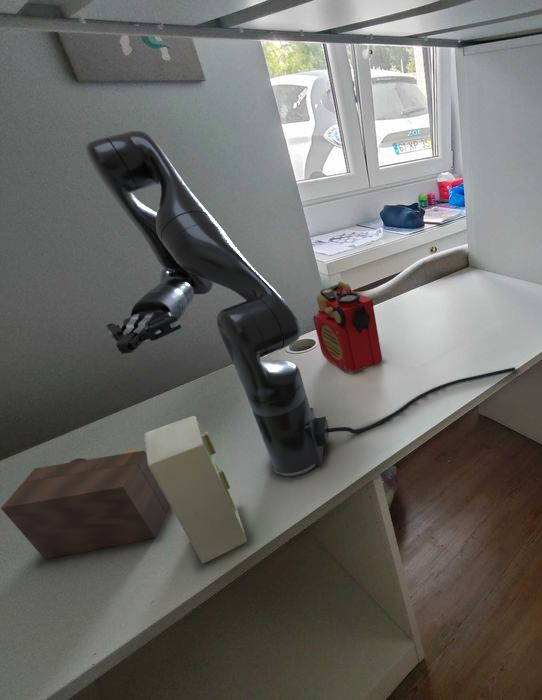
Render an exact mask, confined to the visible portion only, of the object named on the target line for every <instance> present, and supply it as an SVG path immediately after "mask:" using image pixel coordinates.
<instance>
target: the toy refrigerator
mask: <svg viewBox="0 0 542 700" xmlns="http://www.w3.org/2000/svg"><path fill="white" fill-rule="evenodd" d="M143 440H144V447H145V452H146V455H147V463H148V466H149V469H150V470H151V472H152V474H153V476H154V478H155V479H156V481H157V483H158V485H159V486H160V488H161V490H162V492H163V494H164V495H165V497H166V499H167V501H168V502H169V504H170V508H171V510H172V511H173V513H174V515H175V517H176V519H177V520H178V523H179V525H180V526H181V528H182V529H183V532H184V533H185V535H186V537H187V539H188V541H189V542H190V543H191V544H190V545H191V546H192V548H193V550H194V551H195V553H196V555H197V556H198V558H199V560H200V562H201V563H202V564H206V563H208V562H210V561H212V560H214V559H216V558H218V557H220V556H222V555H224V554H226V553H228V552H230V551H232V550H234V549H236V548H238V547H240V546H242V545H243V544H246V543H247V542H248V539H247V535H246V533H245V529H244V526H243V523H242V520H241V518H240V517H241V516H240V514H239V511H238V509H237V506H236V504H235V501H234V499H233V498H232V496H231V493H230V491H229V489H231V486H230V484H229V481H228V479H227V477H226V474H225V471H224V469H223V468H219V465H218V464H217V462H216V460H215V457H214V455H215V454H216V453H217V450H216V448H215V446H214V443H213V442H212V439H211V437H210V435H209V432H208V431H204V432H203V430H202V428H201V425H200V424H199V421H198V419H197V417H196V416H195V415H191V416H189V417H186V418H183V419H180V420H178V421H174V422H172V423H169V424H166V425H163V426H161V427H157V428H155V429H152V430H150V431H147V432H145V433H144V434H143Z"/></svg>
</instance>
